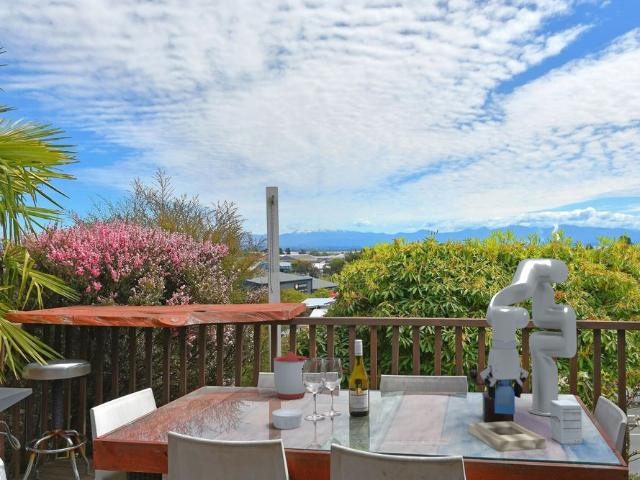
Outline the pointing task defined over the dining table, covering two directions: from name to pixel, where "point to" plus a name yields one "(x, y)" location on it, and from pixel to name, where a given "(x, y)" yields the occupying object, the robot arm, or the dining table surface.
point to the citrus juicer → (289, 376)
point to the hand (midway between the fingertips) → (504, 397)
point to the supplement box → (566, 422)
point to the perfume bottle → (504, 398)
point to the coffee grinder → (490, 404)
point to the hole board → (507, 436)
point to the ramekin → (287, 418)
